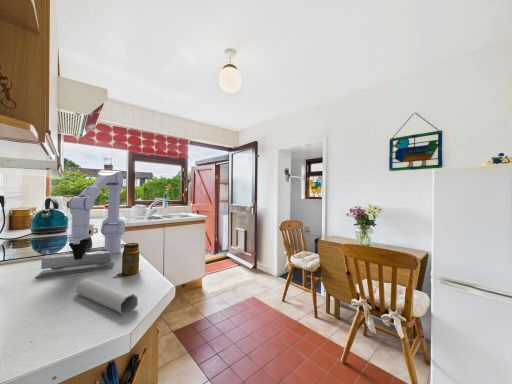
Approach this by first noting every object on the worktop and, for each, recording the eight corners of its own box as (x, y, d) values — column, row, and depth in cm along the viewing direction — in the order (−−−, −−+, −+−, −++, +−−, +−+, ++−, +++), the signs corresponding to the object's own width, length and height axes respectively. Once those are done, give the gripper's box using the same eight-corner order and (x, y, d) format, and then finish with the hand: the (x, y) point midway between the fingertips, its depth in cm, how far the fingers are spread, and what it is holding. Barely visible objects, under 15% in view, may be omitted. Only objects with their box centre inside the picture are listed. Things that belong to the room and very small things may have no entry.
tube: (69, 284, 67) (116, 304, 56) (88, 273, 72) (135, 290, 60) (75, 298, 69) (122, 320, 57) (93, 286, 73) (140, 305, 62)
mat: (43, 271, 86) (43, 270, 86) (114, 263, 98) (114, 262, 98) (35, 278, 79) (35, 277, 79) (112, 268, 91) (112, 267, 91)
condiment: (143, 270, 90) (144, 242, 90) (131, 278, 82) (132, 247, 82) (126, 270, 90) (127, 241, 91) (112, 277, 82) (113, 246, 82)
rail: (44, 265, 85) (45, 255, 85) (111, 259, 96) (111, 250, 96) (41, 269, 81) (41, 258, 82) (110, 261, 93) (110, 252, 93)
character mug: (72, 250, 116) (72, 226, 116) (73, 247, 122) (74, 224, 122) (97, 248, 122) (97, 225, 122) (97, 245, 128) (98, 223, 128)
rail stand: (57, 263, 96) (57, 253, 96) (110, 257, 106) (111, 248, 106) (50, 269, 88) (51, 258, 88) (109, 262, 98) (109, 253, 98)
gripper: (72, 223, 93) (71, 254, 93) (63, 228, 81) (61, 264, 81) (92, 222, 97) (91, 252, 97) (86, 227, 84) (85, 261, 84)
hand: (79, 257), depth 89 cm, fingers closed on rail, 4 cm apart
